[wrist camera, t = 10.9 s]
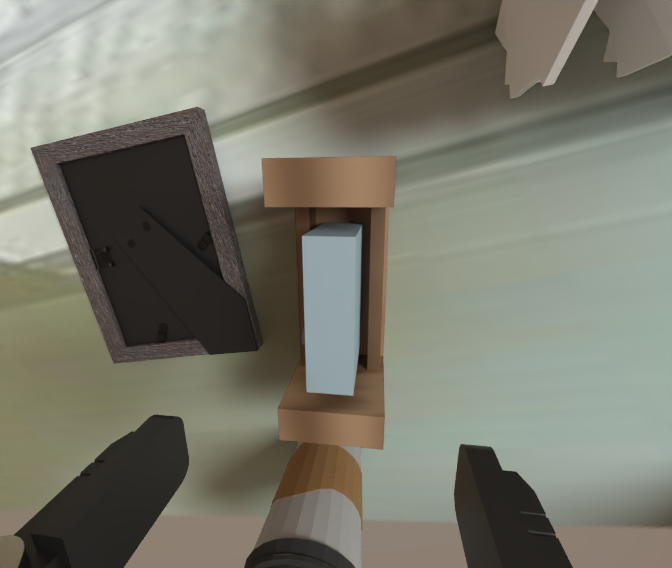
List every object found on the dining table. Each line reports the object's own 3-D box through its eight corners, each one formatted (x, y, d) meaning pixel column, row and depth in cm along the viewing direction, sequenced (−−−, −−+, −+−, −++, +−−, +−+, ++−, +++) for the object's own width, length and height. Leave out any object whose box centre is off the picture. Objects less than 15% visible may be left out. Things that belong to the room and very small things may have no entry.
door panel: (363, 222, 25) (356, 237, 18) (360, 339, 28) (353, 395, 20) (314, 222, 26) (288, 235, 18) (317, 337, 29) (294, 391, 21)
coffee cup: (310, 482, 36) (264, 676, 22) (278, 420, 34) (206, 587, 20) (382, 466, 34) (383, 666, 20) (352, 400, 32) (331, 568, 18)
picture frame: (264, 341, 32) (207, 111, 27) (257, 350, 30) (194, 105, 25) (125, 356, 35) (48, 149, 30) (110, 365, 33) (25, 147, 28)
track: (390, 168, 26) (396, 156, 16) (382, 369, 31) (383, 449, 21) (303, 169, 27) (261, 158, 17) (309, 364, 32) (279, 439, 22)
